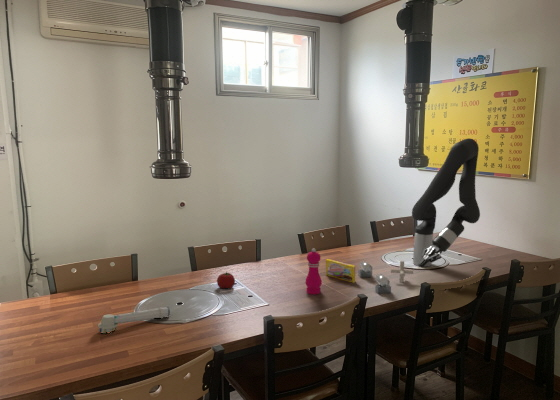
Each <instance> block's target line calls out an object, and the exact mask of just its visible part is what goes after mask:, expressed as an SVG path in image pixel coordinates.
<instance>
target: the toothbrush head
mask: <svg viewBox="0 0 560 400" xmlns="http://www.w3.org/2000/svg"><path fill="white" fill-rule="evenodd" d="M169 315H170V316H171V310H170V307H168V306H167V307H165V306H163V307H160V306H158V307H156V308H151V309H145V310H138V311H133V312H128V313H120V314H115V315H114V314H109V313H108V314H105V315H103V316H102V317H101V320H100V322H99V323H98V324H97V327H98V332H99V331H100V332H102V333H103V334H106V332H110V331H113V330H115V329H116V330H117V326H118V325H119V324H126V323H133V322H142V321H143V322H144V321H149V320H148V319H152V320H155V319H154V318H161V317H165V316H169ZM170 316H169V317H170ZM161 319H162V318H161Z"/></svg>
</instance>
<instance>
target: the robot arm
mask: <svg viewBox="0 0 560 400" xmlns="http://www.w3.org/2000/svg"><path fill="white" fill-rule="evenodd" d="M479 151H480V150H479V144H478V143H477V141H476V140H475V139H473V138H463V139H462V140H460V141H458V142H455V143H454V144H453V145H452V146H451V148H450V149H449V152H448V155H447V156H446V158H445V161H444V162H443V164H442V165H441V166H440V168H439V170H438V171H437V173H436V174H435V175H434V176H433V178H432V180H431V182H430V184H428V187H427V188H426V190H425V191H424V193H423V194H422V195H421V197H420V198H419V199H418V200H417V201H416V203H415V204H414V205H413V207H412V210H411V216H412V218H413V219H414V220H415V221H419V222H420V221H421V223H420V224H418V225H416V226H415V228H414V244H413V253H412V255H413V256H412V263H413V265H415V266H417V267H418V266H419V267H420V268H421V269H423V268H424V266H428V267H431V266H432V265H433V262H435V261H438V260H440V259H442V258H443V256H442V255H441V254H442V253H445V252H446V251H447V250H448V249H449V248H450V247H451V246H452V245H453V244H454V242H456V240H457V239H458V237H459V236H460V235H462V233H464V231H465V226H464V224H463V222H467V223H469V224H475V223H477V222H478V221H479V220H480V217H481V213H480V207H479V205H478V201H477V199H476V197H477V195H476V175H477V165H478V157H479ZM461 167H462V172H461V176H460V180H459V183H458V197H459V198H458V199H459V200H458V201H459V202H460V203H461V204H462V205H461V206H460V207H458V208H457V209H456V211H455V212H454V215H453V216H452V218H451V221H450V222H449V223H448V224H447V225H446V226H445V227H444V228H443V229H442V230H441V231H440V232H439V233H438V234H437V235H436V236H435V237H434V230H435V228H436V219H437V208H436V205H435V204H434V203H435V202H438V201H439V200H440V199H442V198H443V197H444V196H446V195H447V194H448V193H449V192H450V190H451V189H452V187H453V186H454V184H455V181H456V178H457V177H456V175H457V173H458V171H459V169H460V168H461ZM430 265H431V266H430Z"/></svg>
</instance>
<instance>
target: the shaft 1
mask: <svg viewBox="0 0 560 400" xmlns="http://www.w3.org/2000/svg"><path fill="white" fill-rule="evenodd" d="M359 267H360V269H357V271H358V272H357V274H358V277H359V278H363V279H364V278H371V277H372V278H373V266H372V265H370V263H369V262H367V261H366V260H365V261H364V260H363V261H361V262H360V264H359Z"/></svg>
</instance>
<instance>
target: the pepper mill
mask: <svg viewBox="0 0 560 400" xmlns="http://www.w3.org/2000/svg"><path fill="white" fill-rule="evenodd" d="M316 250H317V249H316V248H312V249H311V251H309V252H308V253H307V254H306V260H307V261H308V262H307V267H308V273H307V276H306V278H305V282H304V284H305V285H306V293H307V294H309V295H319V294H321V286H322V283H323V282H322V277H321V275H320V273H319V266H320V261H321V254H320V253H319V252H317V251H316Z"/></svg>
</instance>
